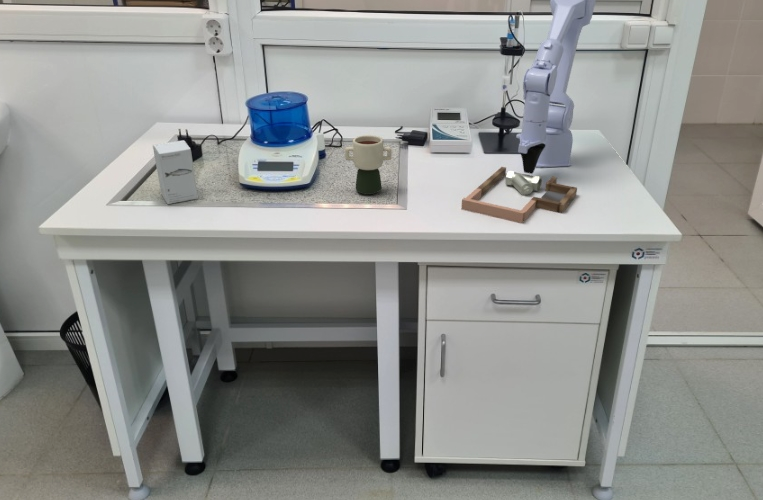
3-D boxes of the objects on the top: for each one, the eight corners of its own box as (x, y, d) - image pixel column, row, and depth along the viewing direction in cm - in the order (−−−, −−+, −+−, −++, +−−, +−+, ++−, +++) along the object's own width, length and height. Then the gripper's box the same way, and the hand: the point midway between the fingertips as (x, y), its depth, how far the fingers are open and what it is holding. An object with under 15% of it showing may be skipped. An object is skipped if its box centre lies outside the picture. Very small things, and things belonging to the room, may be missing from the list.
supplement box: (167, 205, 147) (157, 153, 141) (161, 194, 152) (151, 143, 146) (199, 199, 150) (191, 148, 144) (191, 188, 155) (184, 138, 149)
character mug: (390, 185, 157) (391, 134, 150) (391, 197, 150) (391, 144, 144) (346, 185, 157) (345, 134, 150) (345, 197, 150) (343, 145, 144)
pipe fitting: (531, 200, 150) (541, 188, 155) (532, 185, 148) (542, 174, 153) (499, 193, 154) (510, 182, 159) (500, 178, 152) (511, 167, 157)
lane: (501, 174, 163) (501, 166, 162) (580, 189, 154) (581, 182, 153) (476, 195, 151) (476, 188, 150) (560, 214, 142) (562, 206, 141)
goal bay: (476, 195, 151) (477, 186, 150) (534, 208, 144) (536, 199, 143) (461, 209, 144) (462, 199, 143) (522, 223, 138) (523, 213, 137)
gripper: (529, 109, 159) (523, 160, 166) (508, 124, 149) (503, 178, 155) (556, 113, 156) (549, 165, 163) (537, 129, 145) (530, 184, 152)
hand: (528, 172), depth 159 cm, fingers closed
